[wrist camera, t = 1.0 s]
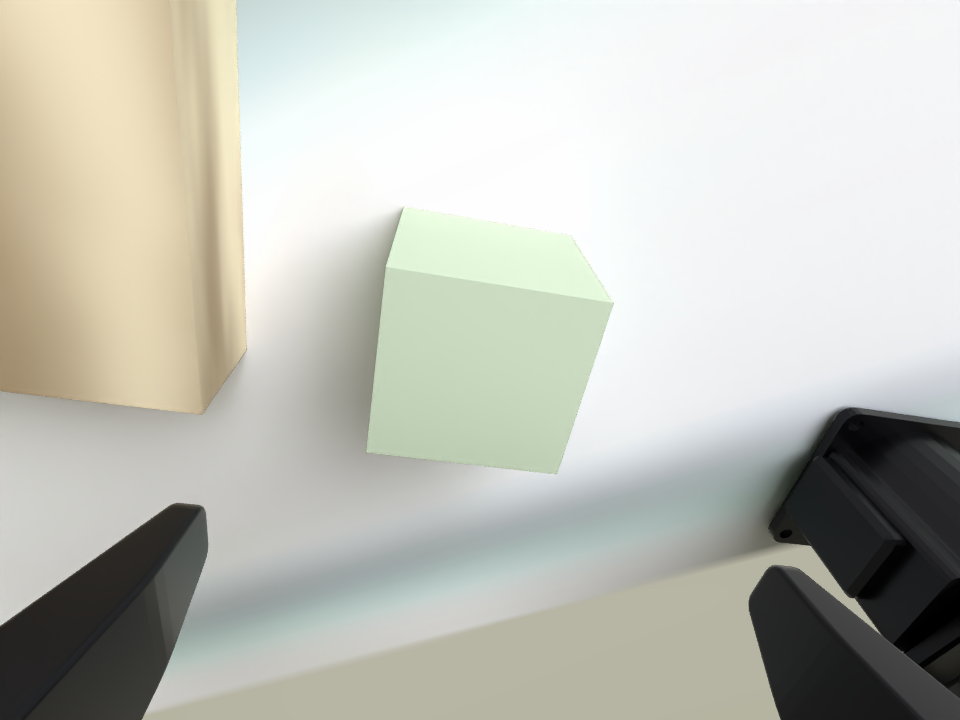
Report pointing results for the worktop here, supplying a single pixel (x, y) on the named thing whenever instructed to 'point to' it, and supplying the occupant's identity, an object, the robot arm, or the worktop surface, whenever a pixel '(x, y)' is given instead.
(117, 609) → the robot arm
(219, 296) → the birch block
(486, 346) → the sage cube
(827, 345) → the worktop surface
